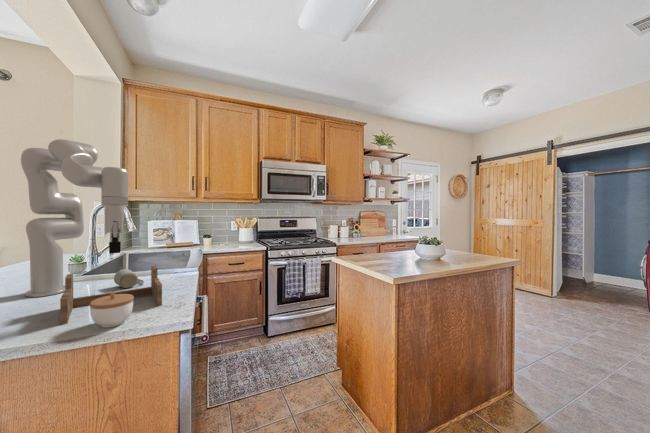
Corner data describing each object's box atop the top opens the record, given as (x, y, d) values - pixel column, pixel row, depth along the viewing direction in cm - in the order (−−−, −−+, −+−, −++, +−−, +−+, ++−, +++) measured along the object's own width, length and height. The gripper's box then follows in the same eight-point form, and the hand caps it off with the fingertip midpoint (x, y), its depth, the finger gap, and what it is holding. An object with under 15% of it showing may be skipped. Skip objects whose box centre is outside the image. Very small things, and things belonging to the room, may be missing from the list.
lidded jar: (103, 334, 76) (103, 302, 76) (82, 327, 80) (81, 296, 80) (141, 319, 86) (141, 291, 86) (120, 314, 90) (120, 287, 90)
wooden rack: (67, 307, 95) (67, 274, 95) (155, 293, 112) (155, 265, 112) (60, 324, 81) (60, 286, 81) (161, 305, 99) (161, 273, 98)
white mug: (119, 290, 115) (119, 273, 115) (113, 287, 120) (113, 270, 120) (147, 285, 124) (147, 269, 123) (140, 282, 128) (140, 266, 128)
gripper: (101, 201, 98) (101, 250, 98) (100, 201, 86) (100, 257, 87) (127, 202, 102) (126, 249, 103) (129, 202, 91) (129, 255, 91)
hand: (114, 252), depth 95 cm, fingers closed
